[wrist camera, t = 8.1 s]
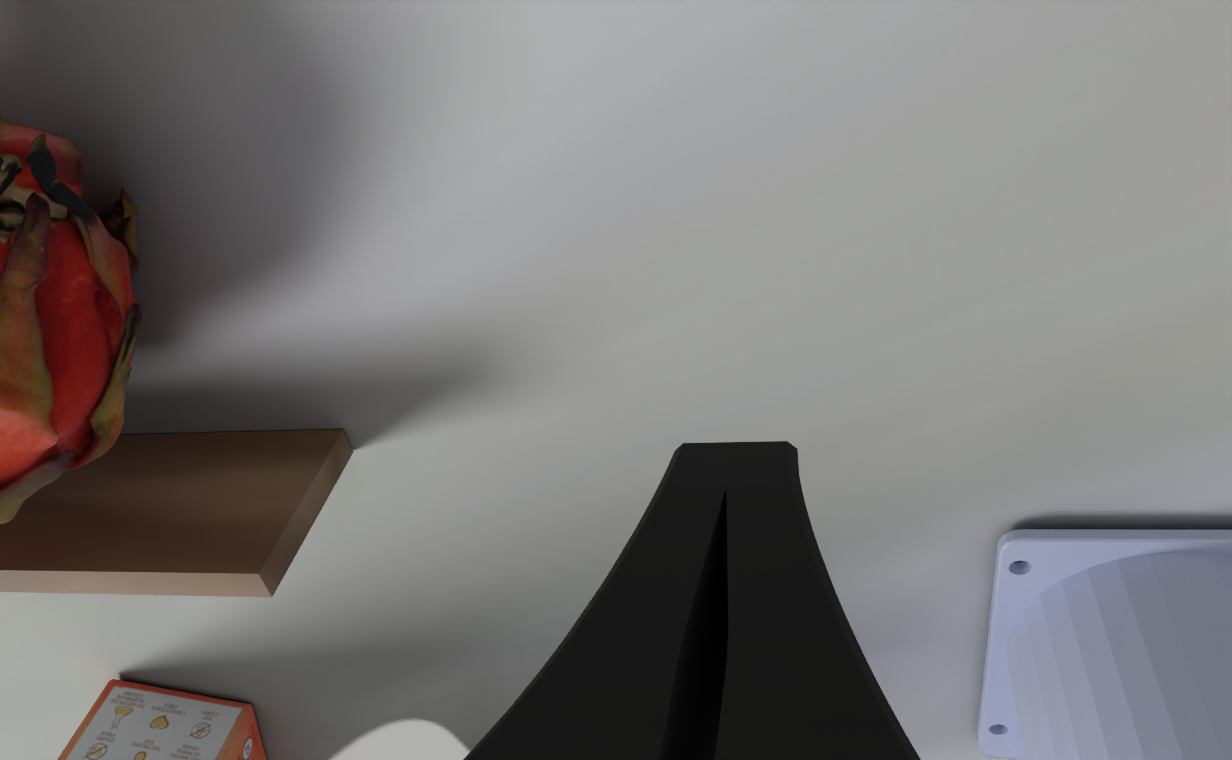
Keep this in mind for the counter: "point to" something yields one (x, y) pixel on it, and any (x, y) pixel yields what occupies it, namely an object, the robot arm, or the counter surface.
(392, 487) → the counter surface
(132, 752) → the cracker box
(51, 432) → the dragon fruit
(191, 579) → the box
